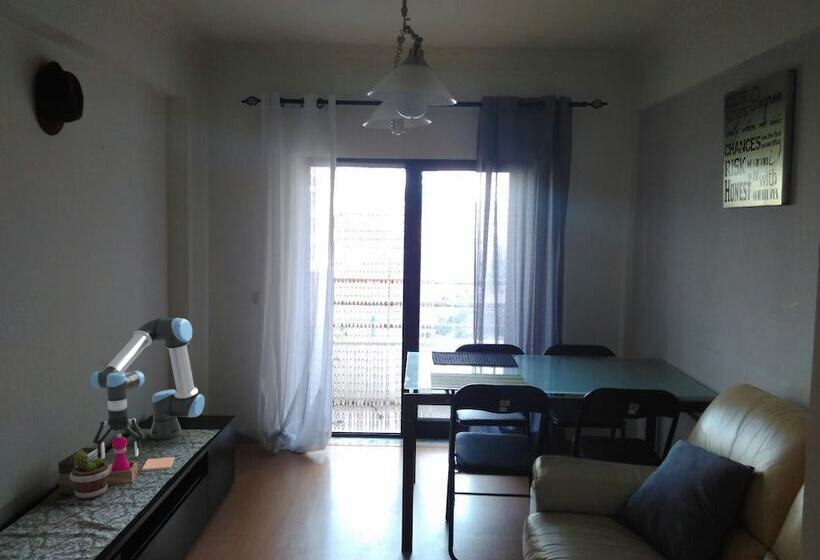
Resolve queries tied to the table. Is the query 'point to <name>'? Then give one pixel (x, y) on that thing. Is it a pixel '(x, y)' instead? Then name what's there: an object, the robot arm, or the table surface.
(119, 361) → the robot arm
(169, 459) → the plate
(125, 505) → the table surface
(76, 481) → the flowerpot
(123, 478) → the wooden box
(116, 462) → the pepper mill
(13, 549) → the table surface
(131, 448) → the table surface
